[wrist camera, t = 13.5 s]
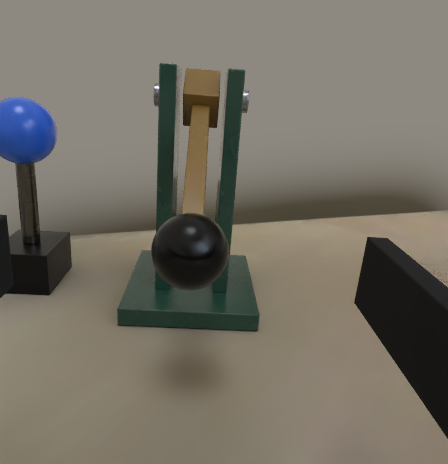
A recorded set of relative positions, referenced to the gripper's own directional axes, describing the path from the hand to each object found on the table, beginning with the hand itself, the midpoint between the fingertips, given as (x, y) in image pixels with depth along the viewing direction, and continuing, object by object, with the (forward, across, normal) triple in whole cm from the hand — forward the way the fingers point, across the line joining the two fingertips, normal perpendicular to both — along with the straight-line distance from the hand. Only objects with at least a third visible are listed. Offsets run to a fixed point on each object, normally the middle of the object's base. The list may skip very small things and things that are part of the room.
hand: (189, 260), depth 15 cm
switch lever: (+10, 0, +1) cm, 10 cm away
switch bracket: (+14, 0, -8) cm, 16 cm away
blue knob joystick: (+15, -12, -8) cm, 21 cm away
